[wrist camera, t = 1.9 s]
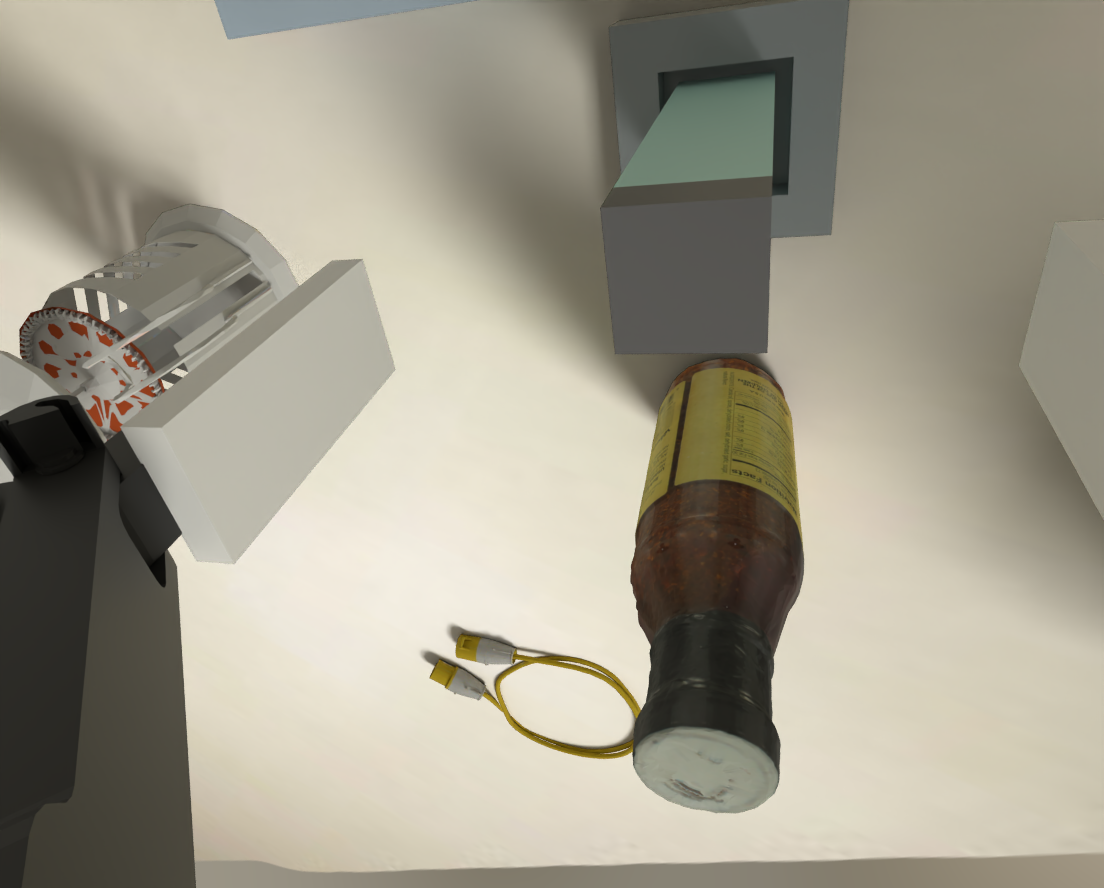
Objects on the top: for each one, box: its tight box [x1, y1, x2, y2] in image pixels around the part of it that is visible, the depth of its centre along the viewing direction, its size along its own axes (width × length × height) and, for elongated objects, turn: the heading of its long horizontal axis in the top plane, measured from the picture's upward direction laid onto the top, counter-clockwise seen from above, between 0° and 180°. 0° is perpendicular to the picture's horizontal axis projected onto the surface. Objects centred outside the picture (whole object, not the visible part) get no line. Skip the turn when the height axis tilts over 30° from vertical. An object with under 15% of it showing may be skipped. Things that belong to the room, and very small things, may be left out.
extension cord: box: [430, 634, 641, 759], centre depth 53 cm, size 12×16×2 cm
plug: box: [600, 71, 775, 354], centre depth 22 cm, size 4×4×16 cm
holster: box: [609, 0, 849, 238], centre depth 28 cm, size 8×8×2 cm
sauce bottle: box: [630, 358, 804, 813], centre depth 28 cm, size 7×6×20 cm
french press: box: [0, 204, 299, 483], centre depth 29 cm, size 10×12×25 cm
